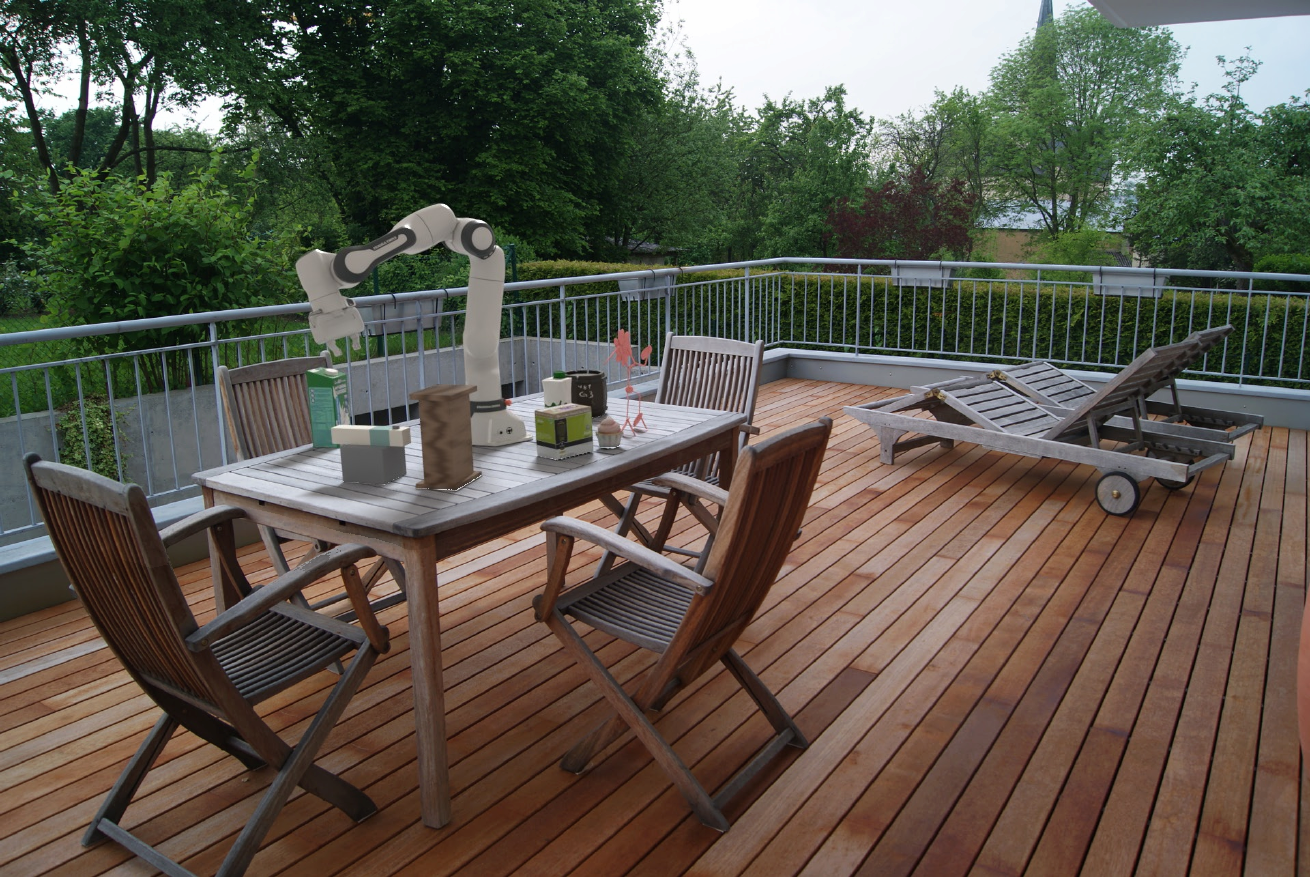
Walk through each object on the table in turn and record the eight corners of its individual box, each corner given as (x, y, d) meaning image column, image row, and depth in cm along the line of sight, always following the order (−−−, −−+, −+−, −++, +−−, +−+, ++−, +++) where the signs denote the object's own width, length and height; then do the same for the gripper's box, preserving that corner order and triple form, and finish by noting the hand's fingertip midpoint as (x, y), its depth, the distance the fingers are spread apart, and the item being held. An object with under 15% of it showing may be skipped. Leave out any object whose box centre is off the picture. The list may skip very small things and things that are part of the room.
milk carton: (338, 447, 305) (331, 371, 300) (312, 447, 307) (305, 370, 301) (352, 441, 314) (346, 366, 308) (327, 440, 316) (320, 366, 310)
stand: (415, 488, 256) (409, 394, 250) (443, 474, 271) (437, 384, 266) (456, 491, 253) (450, 395, 247) (481, 476, 268) (476, 385, 263)
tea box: (573, 447, 301) (571, 402, 298) (594, 452, 294) (592, 406, 291) (535, 456, 291) (533, 408, 288) (556, 461, 284) (554, 413, 281)
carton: (332, 443, 266) (330, 425, 265) (341, 440, 271) (339, 421, 269) (403, 446, 261) (401, 427, 260) (411, 443, 265) (409, 424, 264)
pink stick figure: (660, 425, 332) (656, 325, 324) (626, 441, 309) (621, 333, 302) (621, 423, 339) (617, 325, 331) (585, 438, 316) (580, 333, 308)
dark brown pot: (587, 407, 367) (586, 367, 363) (617, 414, 354) (616, 372, 350) (549, 414, 355) (548, 372, 351) (579, 421, 342) (578, 378, 338)
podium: (343, 482, 264) (339, 447, 262) (366, 471, 275) (363, 437, 273) (384, 484, 261) (382, 449, 258) (406, 473, 272) (404, 439, 270)
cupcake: (618, 442, 307) (618, 412, 305) (628, 448, 299) (627, 417, 296) (591, 445, 304) (590, 414, 302) (599, 451, 295) (598, 420, 293)
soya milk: (575, 428, 329) (573, 371, 325) (563, 434, 321) (561, 375, 317) (553, 426, 332) (551, 370, 328) (540, 432, 324) (538, 374, 320)
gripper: (315, 309, 260) (336, 356, 262) (357, 298, 279) (376, 342, 281) (297, 316, 262) (318, 363, 265) (340, 305, 281) (359, 349, 283)
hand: (348, 352), depth 273 cm, fingers open, 8 cm apart
